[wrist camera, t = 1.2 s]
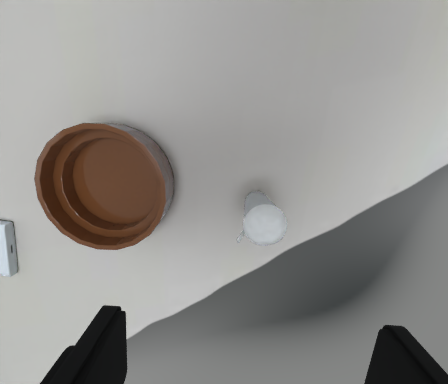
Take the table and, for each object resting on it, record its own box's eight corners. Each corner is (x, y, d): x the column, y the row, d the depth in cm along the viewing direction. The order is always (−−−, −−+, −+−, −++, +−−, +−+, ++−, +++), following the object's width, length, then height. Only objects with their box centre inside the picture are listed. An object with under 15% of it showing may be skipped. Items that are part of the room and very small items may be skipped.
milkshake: (229, 192, 33) (230, 220, 23) (268, 181, 33) (286, 205, 23) (238, 223, 34) (243, 261, 25) (276, 213, 34) (296, 248, 24)
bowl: (55, 122, 31) (23, 121, 26) (173, 125, 31) (163, 125, 26) (71, 231, 35) (46, 248, 30) (176, 234, 35) (167, 251, 30)
